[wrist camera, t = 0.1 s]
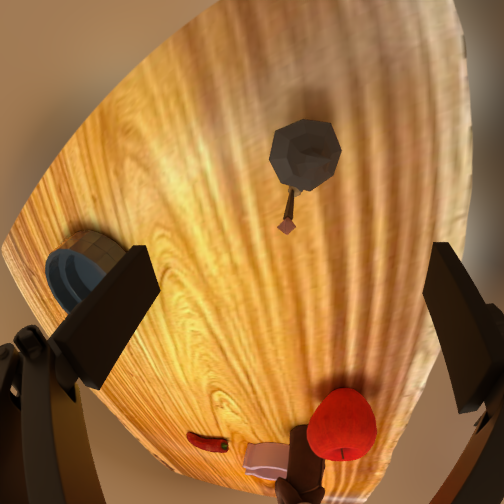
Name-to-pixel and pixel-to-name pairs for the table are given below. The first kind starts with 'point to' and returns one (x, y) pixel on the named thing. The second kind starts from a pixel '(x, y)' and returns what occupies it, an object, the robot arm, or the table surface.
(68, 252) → the basin
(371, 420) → the apple
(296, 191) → the wizard figurine
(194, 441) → the vegetable
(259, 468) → the clip
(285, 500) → the sculpture
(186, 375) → the table surface
